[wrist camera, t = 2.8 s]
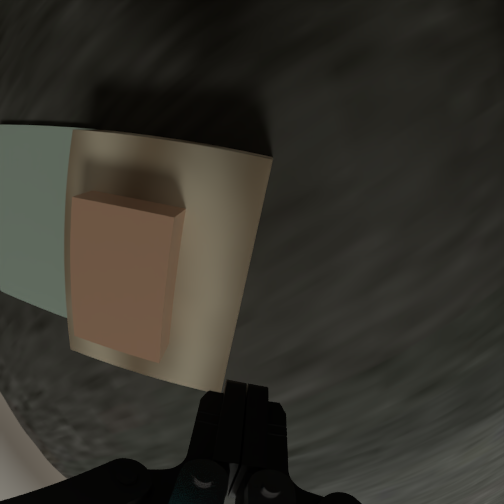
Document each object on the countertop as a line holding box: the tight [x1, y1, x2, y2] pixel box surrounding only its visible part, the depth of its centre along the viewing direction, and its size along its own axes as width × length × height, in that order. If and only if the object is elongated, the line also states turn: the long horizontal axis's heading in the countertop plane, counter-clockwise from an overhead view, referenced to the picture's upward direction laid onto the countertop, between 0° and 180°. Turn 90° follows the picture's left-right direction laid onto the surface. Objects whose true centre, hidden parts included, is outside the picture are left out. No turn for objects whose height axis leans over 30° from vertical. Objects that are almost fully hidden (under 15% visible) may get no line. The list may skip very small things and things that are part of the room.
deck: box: [64, 129, 273, 393], centre depth 21 cm, size 12×16×4 cm
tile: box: [70, 190, 186, 363], centre depth 18 cm, size 6×9×2 cm, turn 168°
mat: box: [0, 125, 98, 318], centre depth 22 cm, size 11×16×1 cm
